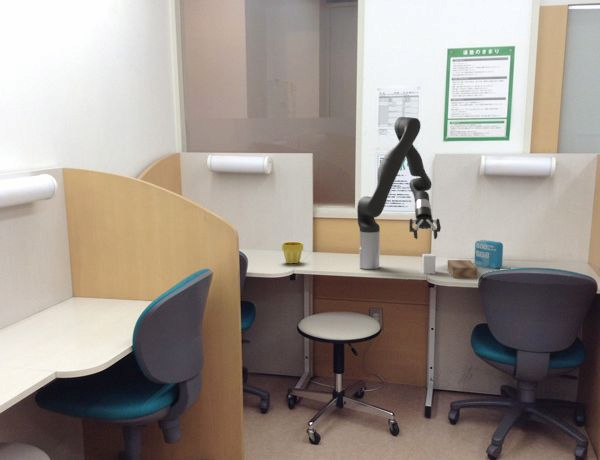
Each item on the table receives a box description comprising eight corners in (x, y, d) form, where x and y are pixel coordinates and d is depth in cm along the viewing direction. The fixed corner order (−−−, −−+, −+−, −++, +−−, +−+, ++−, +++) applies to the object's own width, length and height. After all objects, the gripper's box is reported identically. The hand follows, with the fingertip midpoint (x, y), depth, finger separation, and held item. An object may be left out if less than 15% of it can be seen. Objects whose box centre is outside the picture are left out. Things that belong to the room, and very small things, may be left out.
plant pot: (303, 265, 283) (302, 245, 282) (281, 265, 284) (281, 245, 282) (303, 260, 293) (303, 241, 292) (283, 260, 294) (282, 241, 292)
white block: (423, 273, 261) (424, 256, 260) (422, 271, 267) (422, 253, 266) (435, 273, 261) (435, 256, 260) (433, 271, 267) (433, 253, 265)
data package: (474, 265, 277) (474, 240, 275) (479, 264, 280) (480, 239, 278) (496, 269, 268) (497, 243, 266) (502, 268, 270) (503, 242, 269)
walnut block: (452, 278, 253) (453, 267, 252) (447, 270, 268) (447, 260, 268) (476, 279, 252) (477, 267, 251) (469, 270, 267) (470, 260, 267)
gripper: (408, 205, 279) (411, 233, 270) (439, 205, 278) (442, 233, 269) (407, 215, 285) (409, 242, 276) (437, 215, 284) (440, 242, 275)
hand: (425, 238), depth 272 cm, fingers open, 8 cm apart
